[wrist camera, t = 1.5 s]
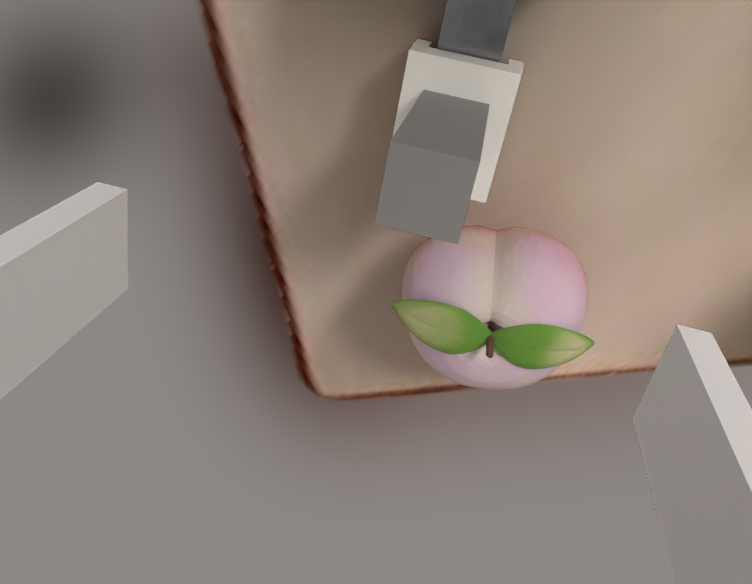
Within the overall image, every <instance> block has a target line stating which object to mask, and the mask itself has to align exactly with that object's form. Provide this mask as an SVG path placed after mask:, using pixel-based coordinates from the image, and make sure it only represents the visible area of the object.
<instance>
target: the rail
mask: <svg viewBox="0 0 752 584" xmlns="http://www.w3.org/2000/svg"><path fill="white" fill-rule="evenodd" d="M515 3H516V0H447V4H446V8H445V13H444V18H443V22H442V27H441V32H440V36H439V41H438V46H437V49H440V50H444V51H449V52H453V53H458V54H463V55H467V56H472V57H476V58H481V59H485V60H490V61H494V62H499V63H500V60H501V56H502V52H503V48H504V45H505V41H506V37H507V33H508V29H509V25H510V22H511V18H512V14H513V10H514V6H515Z"/></svg>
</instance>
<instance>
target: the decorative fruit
mask: <svg viewBox="0 0 752 584" xmlns="http://www.w3.org/2000/svg"><path fill="white" fill-rule="evenodd" d="M587 303H588V282H587V277H586V273H585V270H584V268H583V266H582V263H581V262H580V260H579V259H578V257H577V256H576V255H575V253H574V252H573V251H572V250H571V249H570V248H568V247H567V246H566V245H565V244H563V243H562V242H560V241H559V240H557V239H555V238H553V237H551V236H549V235H547V234H544V233H541V232H538V231H534V230H531V229H527V228H523V227H511V228H507V229H502V230H497V231H496V230H493V229H489V228H486V227H482V226H466V227H463V228H462V232H461V235H460V239H459V243H458V244H454V243H449V242H445V241H441V240H437V239H433V238H429V239H428V240H426V241H425V242H424V243H422V244H421V245H420V246H419V247H418V248H417V249H416V250H415V252H414V253H413V254H412V255H411V257H410V259H409V261H408V263H407V265H406V268H405V271H404V276H403V282H402V300H399V301H394V302H392V303H391V304H392V307H393V308H394V310H395V312H396V314H397V316H398V317H399V319H400V320H401V322H402V323H403V324H404V325H405V327H406V328H407V329H408V332H409V334H410V337H411V340H412V342H413V344H414V346H415V348H416V350H417V351H418V353H419V354H420V356H421V357H422V358H423V360H424V361H425V362H426V363H427V364H428V365H429V366H430V367H431V368H433V369H434V370H435V371H436V372H438V373H439V374H441V375H442V376H444V377H446V378H448V379H450V380H452V381H454V382H456V383H459V384H462V385H465V386H470V387H475V388H484V389H513V388H520V387H524V386H527V385H530V384H533V383H535V382H537V381H539V380H541V379H543V378H545V377H546V376H548V375H550V374H551V373H552V372H554V371H555V370H556V369H557V368H558V367H559V366H560V365H561V364H564V363H566V362H568V361H571V360H573V359H575V358H576V357H578V356H580V355H581V354H583V353H584V352H585V351H587V350H588V349H589V348H590V347H592V346H593V345H594V341H593V340H591V339H590V338H588V337H586V336H584V335H582V334H580V331H581V329H582V326H583V323H584V319H585V315H586V311H587Z"/></svg>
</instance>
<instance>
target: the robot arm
mask: <svg viewBox="0 0 752 584" xmlns="http://www.w3.org/2000/svg"><path fill="white" fill-rule="evenodd" d="M127 212H128V201H127V189H124V188H120V187H116V186H112V185H107V184H103V183H99V182H97V183H95V184H93V185H91V186H89V187H88V188H86V189H84V190H82V191H80V192H79V193H77V194H75V195H73V196H71V197H69V198H68V199H66V200H64V201H62V202H60V203H58V204H57V205H55V206H53V207H51V208H49V209H48V210H46V211H44V212H42V213H41V214H39V215H37V216H35V217H33V218H31V219H29V220H28V221H26V222H24V223H22V224H20V225H19V226H17V227H15V228H13V229H12V230H9V231H8V232H6V233H4V234H2V235H0V399H2V398H3V397H4V396H5V395H6V394H7V393H9V392H10V391H11V390H12V389H13V388H14V387H16V386H17V385H18V384H19V383H20V382H21V381H22V380H23V379H24V378H26V377H27V376H28V375H29V374H30V373H32V372H33V371H34V370H35V369H36V368H37V367H38V366H40V365H41V364H42V363H43V362H44V361H45V360H47V359H48V358H49V357H50V356H51V355H52V354H53V353H54V352H56V351H57V350H58V349H59V348H60V347H62V346H63V345H64V344H65V343H66V342H67V341H68V340H70V339H71V338H72V337H73V336H74V335H75V334H76V333H77V332H79V331H80V330H81V329H82V328H83V327H84V326H86V325H87V324H88V323H89V322H90V321H91V320H93V319H94V318H95V317H96V316H97V315H98V314H99V313H100V312H102V311H103V310H104V309H105V308H106V307H107V306H109V305H110V304H111V303H112V302H113V301H114V300H116V298H118V297H119V296H120V295H121V294H122V293H123V292H125V291H126V290H127V289H128V213H127ZM632 420H633V424H634V428H635V432H636V436H637V439H638V444H639V447H640V451H641V455H642V459H643V463H644V467H645V470H646V475H647V479H648V482H649V486H650V490H651V494H652V498H653V502H654V506H655V510H656V513H657V517H658V521H659V525H660V529H661V533H662V537H663V540H664V544H665V548H666V552H667V556H668V560H669V564H670V568H671V572H672V575H673V579H674V583H675V584H752V409H751V407H750V405H749V403H748V401H747V399H746V398H745V396H744V394H743V392H742V390H741V388H740V386H739V384H738V382H737V380H736V379H735V377H734V375H733V373H732V371H731V369H730V367H729V365H728V363H727V361H726V359H725V358H724V356H723V354H722V352H721V350H720V348H719V346H718V344H717V342H716V340H715V339H714V337H713V335H712V333H709V332H705V331H701V330H697V329H693V328H689V327H685V326H681V325H677V326H676V328H675V330H674V332H673V334H672V336H671V338H670V341H669V343H668V345H667V347H666V349H665V351H664V353H663V355H662V357H661V359H660V361H659V364H658V366H657V368H656V370H655V372H654V374H653V376H652V378H651V380H650V382H649V384H648V387H647V389H646V391H645V393H644V395H643V397H642V399H641V401H640V403H639V406H638V408H637V409H636V412H635V414H634V416H633V418H632Z"/></svg>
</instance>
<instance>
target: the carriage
mask: <svg viewBox="0 0 752 584" xmlns="http://www.w3.org/2000/svg"><path fill="white" fill-rule="evenodd" d="M431 45H432V42H430V41H425V40H421V39H418V40H416V41H415V42H414V43H413V44H412V48H410V49H409V53H408V58H407V63H406V68H405V73H404V78H403V84H402V89H401V94H400V99H399V104H398V109H397V115H396V120H395V125H394V130H393V135H392V139H391V141H390V145H389V150H388V155H387V160H386V166H385V171H384V176H383V181H382V186H381V192H380V197H379V202H378V207H377V212H376V217H375V223H374V224H376V225H380V226H384V227H388V228H392V229H396V230H400V231H404V232H409V233H413V234H417V235H421V236H425V237H429V238H433V239H437V240H441V241H445V242H449V243H454V244H458V243H459V239H460V235H461V232H462V228H463V224H464V220H465V217H466V213H467V209H468V205H469V202H470V200H475V201H479V202H483V203H486V200H487V197H488V193H489V190H490V186H491V183H492V179H493V176H494V172H495V169H496V165H497V162H498V158H499V154H500V151H501V147H502V144H503V140H504V137H505V133H506V129H507V126H508V122H509V119H510V115H511V112H512V108H513V104H514V101H515V97H516V94H517V90H518V87H519V83H520V80H521V76H522V72H523V69H524V68H523V62H521V61H516V60H512V59H509V60H508V64H503V63H499V62H494V61H490V60H485V59H481V58H476V57H472V56H467V55H463V54H458V53H453V52H449V51H444V50H440V49H435V48H431Z"/></svg>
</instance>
